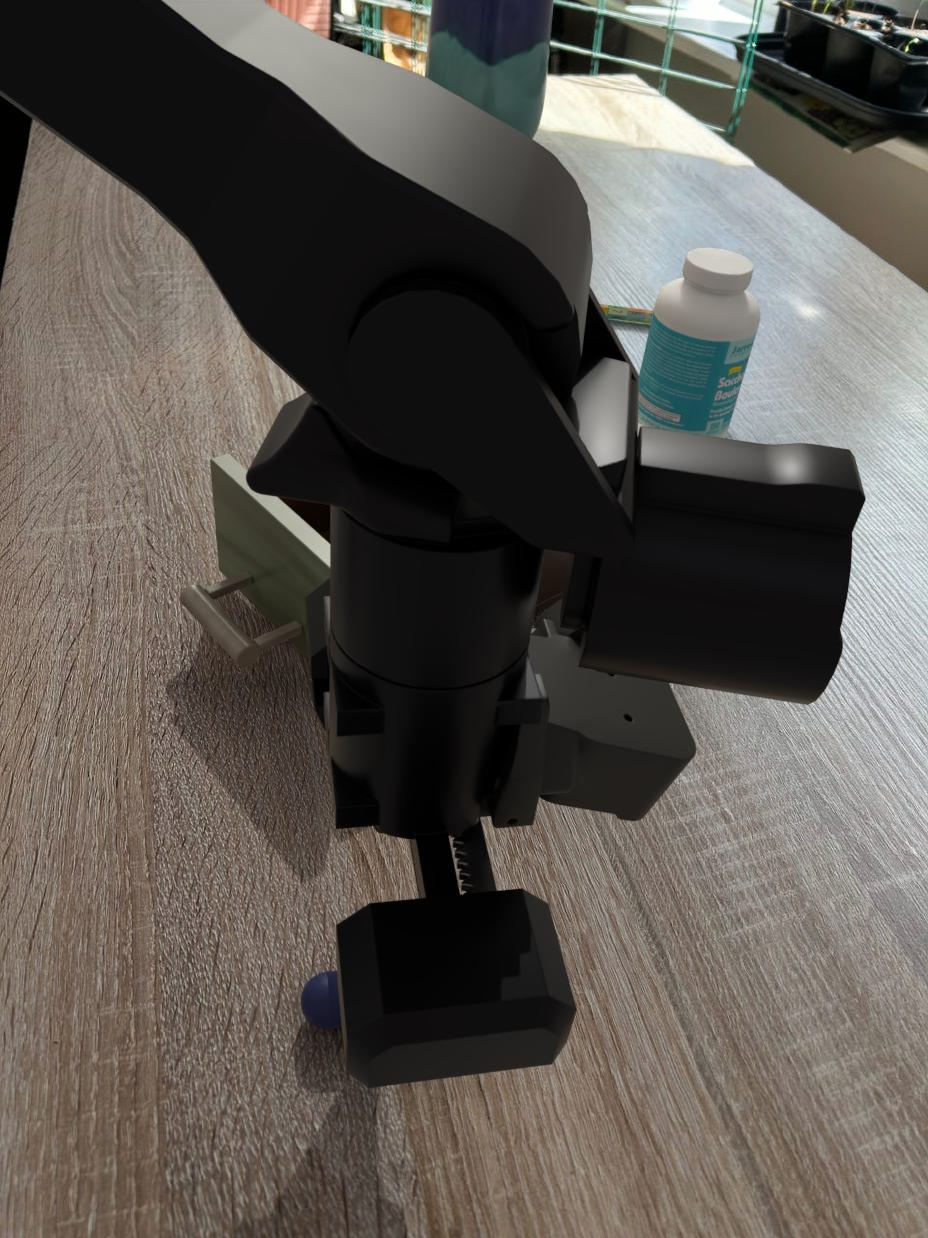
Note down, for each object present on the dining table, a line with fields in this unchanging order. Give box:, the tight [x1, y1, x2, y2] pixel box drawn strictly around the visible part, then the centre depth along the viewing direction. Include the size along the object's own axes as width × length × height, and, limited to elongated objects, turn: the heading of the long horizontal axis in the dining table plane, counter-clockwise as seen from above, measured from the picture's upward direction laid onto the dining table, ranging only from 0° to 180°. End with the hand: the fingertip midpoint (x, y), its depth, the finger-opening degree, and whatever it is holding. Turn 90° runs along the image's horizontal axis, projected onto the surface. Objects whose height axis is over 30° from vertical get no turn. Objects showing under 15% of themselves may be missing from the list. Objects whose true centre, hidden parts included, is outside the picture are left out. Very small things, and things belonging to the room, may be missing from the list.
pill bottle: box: [638, 247, 761, 438], centre depth 77 cm, size 8×7×14 cm
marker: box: [300, 969, 342, 1030], centre depth 43 cm, size 8×2×2 cm, turn 100°
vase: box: [424, 0, 554, 140], centre depth 116 cm, size 14×14×31 cm
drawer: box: [179, 452, 331, 668], centre depth 59 cm, size 18×12×8 cm
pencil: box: [600, 303, 653, 325], centre depth 95 cm, size 1×1×18 cm
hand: (403, 927), depth 40 cm, fingers open, 9 cm apart
